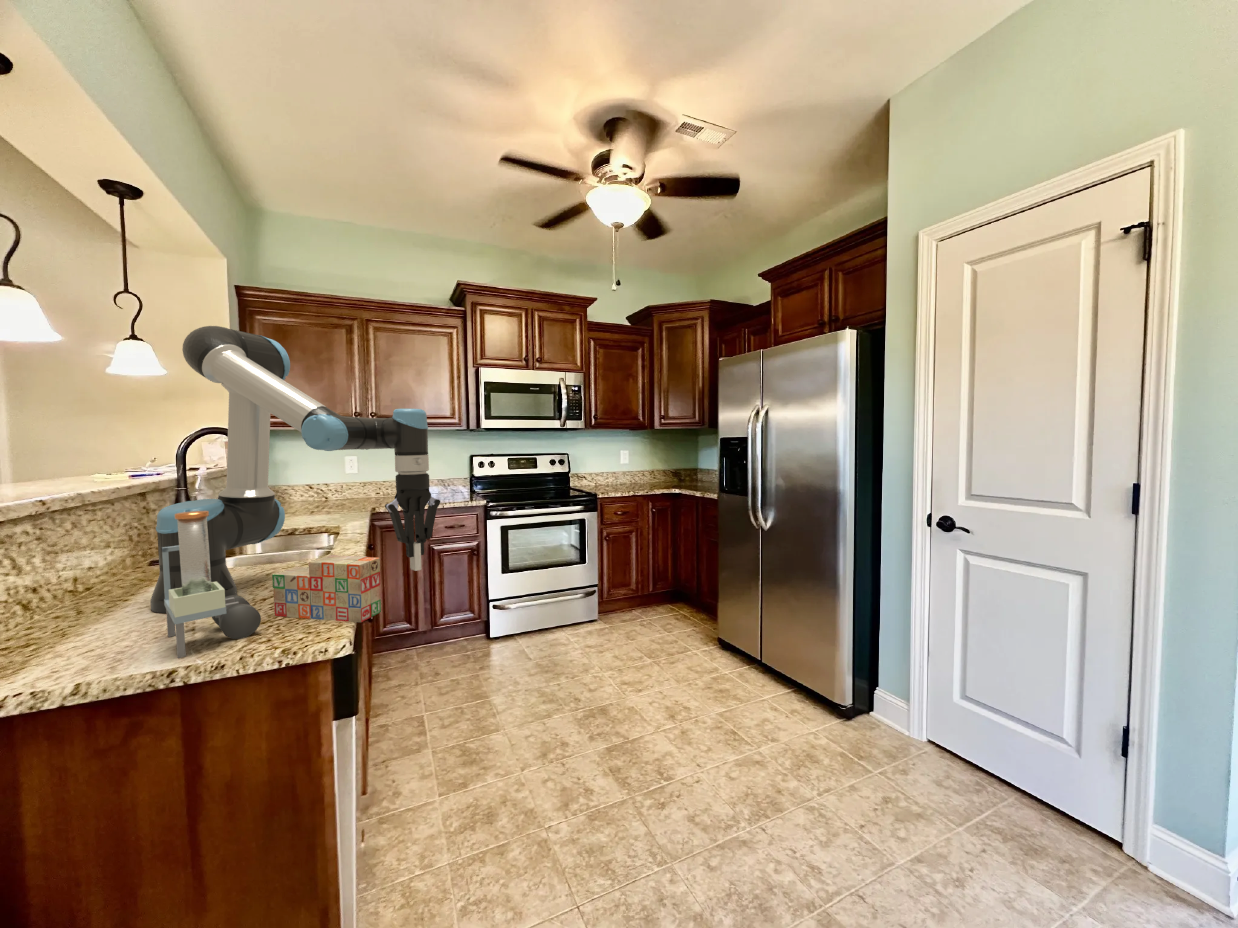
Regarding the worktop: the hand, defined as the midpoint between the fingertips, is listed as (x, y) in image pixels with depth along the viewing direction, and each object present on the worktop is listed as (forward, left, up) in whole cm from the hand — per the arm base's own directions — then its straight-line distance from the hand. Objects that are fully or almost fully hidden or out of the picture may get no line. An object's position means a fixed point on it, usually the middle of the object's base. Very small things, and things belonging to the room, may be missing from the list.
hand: (415, 569), depth 118 cm
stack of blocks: (0, -19, -6) cm, 20 cm away
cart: (-4, -38, -6) cm, 38 cm away
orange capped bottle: (0, -40, +2) cm, 40 cm away
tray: (0, -41, +1) cm, 41 cm away
